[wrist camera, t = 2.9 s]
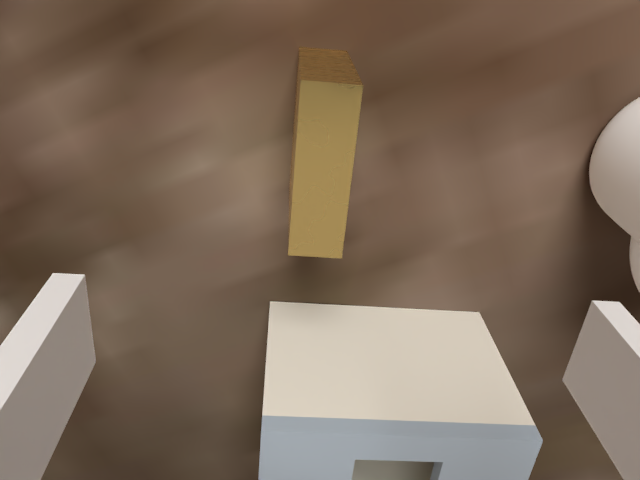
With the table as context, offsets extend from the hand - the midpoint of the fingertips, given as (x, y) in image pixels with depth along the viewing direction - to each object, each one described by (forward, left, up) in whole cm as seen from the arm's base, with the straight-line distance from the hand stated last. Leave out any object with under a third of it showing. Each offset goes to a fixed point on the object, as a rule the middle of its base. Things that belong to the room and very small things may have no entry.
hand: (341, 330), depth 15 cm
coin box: (+19, +5, -19) cm, 27 cm away
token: (0, 0, -19) cm, 19 cm away
